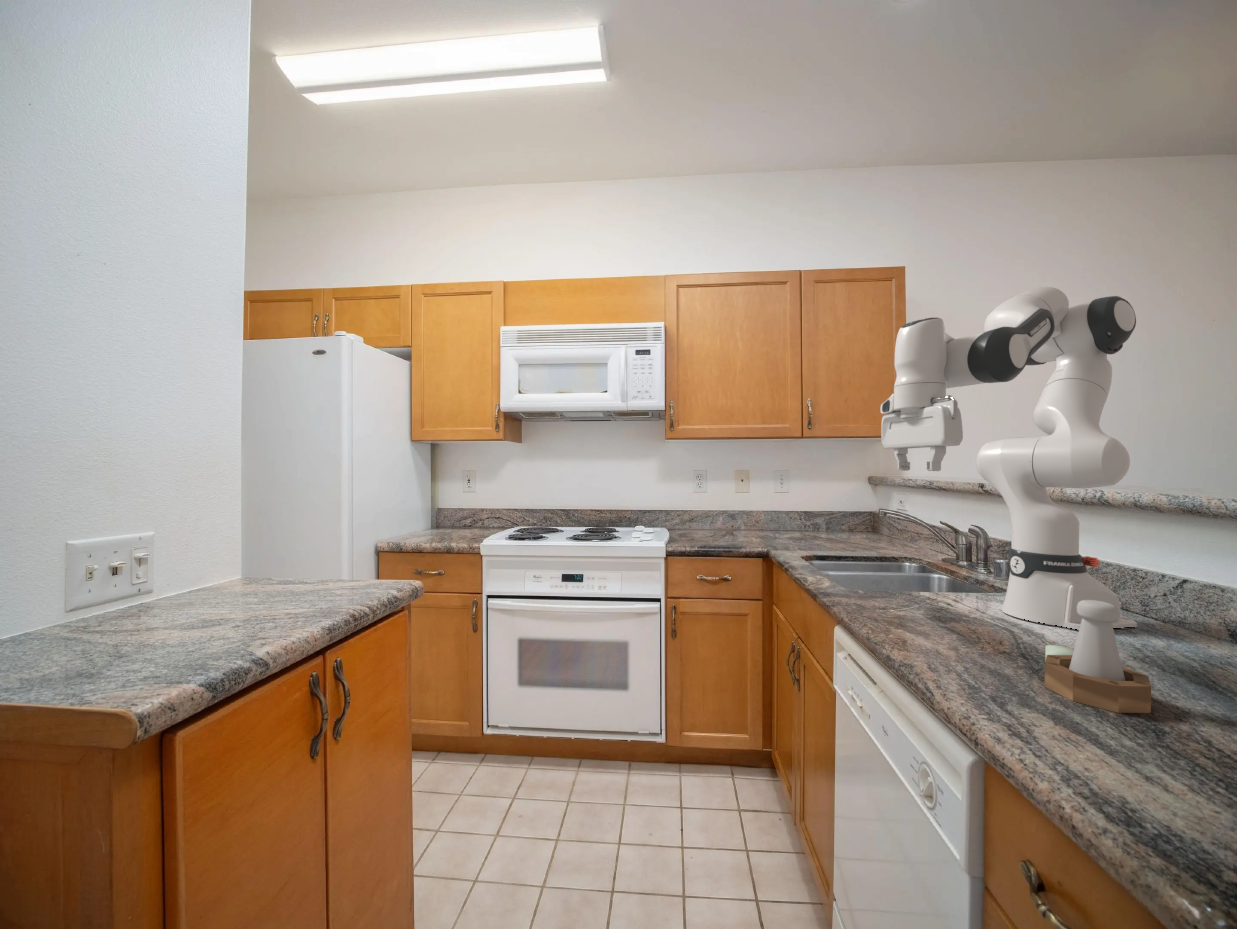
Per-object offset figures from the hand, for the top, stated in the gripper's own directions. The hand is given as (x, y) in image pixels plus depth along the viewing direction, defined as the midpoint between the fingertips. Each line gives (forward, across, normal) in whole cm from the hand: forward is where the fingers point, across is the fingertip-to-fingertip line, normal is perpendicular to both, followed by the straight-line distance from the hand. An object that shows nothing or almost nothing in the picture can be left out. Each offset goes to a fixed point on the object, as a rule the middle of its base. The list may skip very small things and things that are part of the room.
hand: (918, 470), depth 97 cm
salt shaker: (+31, -28, -8) cm, 43 cm away
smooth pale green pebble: (+31, -19, -12) cm, 38 cm away
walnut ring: (+31, -28, -8) cm, 43 cm away
